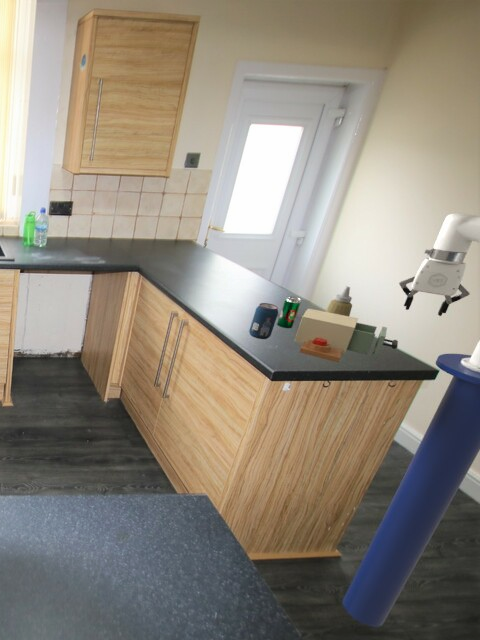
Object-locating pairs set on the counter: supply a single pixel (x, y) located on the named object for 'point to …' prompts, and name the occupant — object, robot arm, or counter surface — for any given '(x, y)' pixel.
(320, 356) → the control block
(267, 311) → the soda can
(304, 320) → the cream appliance housing
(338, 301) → the squeeze bottle
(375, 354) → the grey piece
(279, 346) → the counter surface
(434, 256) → the robot arm
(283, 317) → the soda can
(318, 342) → the button
